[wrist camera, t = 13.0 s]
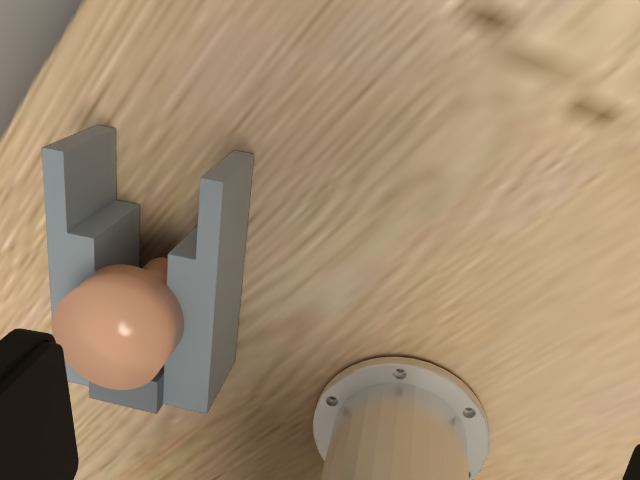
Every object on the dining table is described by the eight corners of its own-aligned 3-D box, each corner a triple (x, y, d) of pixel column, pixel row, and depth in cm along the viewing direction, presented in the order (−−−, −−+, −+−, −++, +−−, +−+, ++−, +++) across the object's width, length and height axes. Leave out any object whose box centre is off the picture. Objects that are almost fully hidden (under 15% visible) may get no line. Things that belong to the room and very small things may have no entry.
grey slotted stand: (235, 361, 44) (201, 424, 38) (101, 331, 45) (46, 387, 39) (254, 154, 37) (217, 187, 31) (97, 124, 39) (30, 152, 32)
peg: (217, 323, 42) (171, 394, 34) (127, 318, 43) (65, 385, 36) (206, 234, 39) (154, 290, 32) (111, 231, 40) (40, 284, 33)
